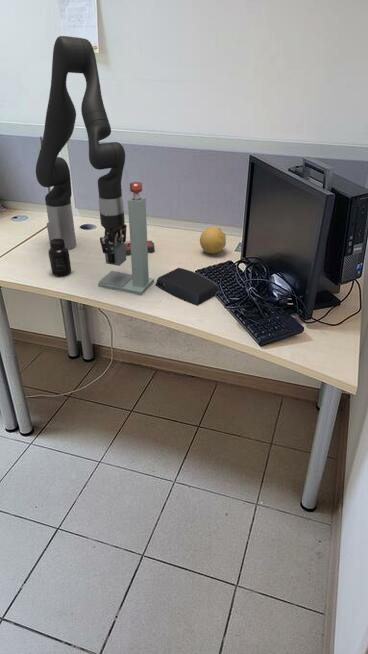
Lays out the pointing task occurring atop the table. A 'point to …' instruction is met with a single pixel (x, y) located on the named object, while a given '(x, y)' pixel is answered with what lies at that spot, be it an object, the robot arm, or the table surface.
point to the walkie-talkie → (149, 245)
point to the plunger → (136, 189)
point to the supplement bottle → (59, 258)
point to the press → (133, 254)
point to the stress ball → (212, 240)
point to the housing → (118, 254)
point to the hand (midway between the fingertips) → (115, 259)
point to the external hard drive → (187, 286)
